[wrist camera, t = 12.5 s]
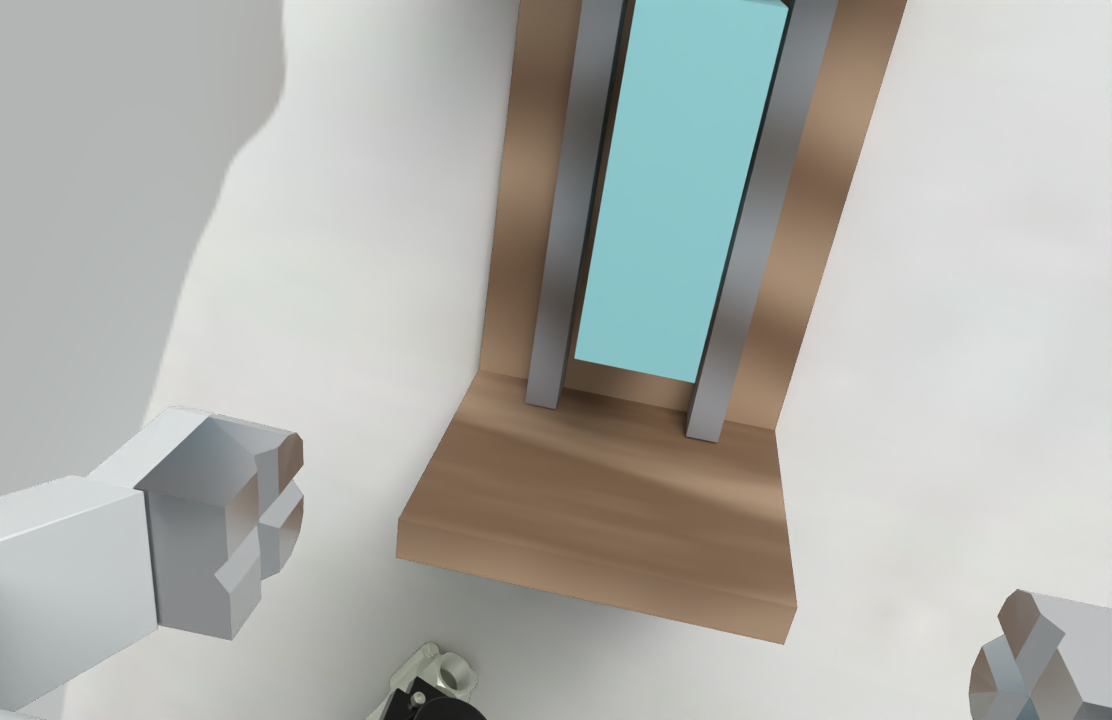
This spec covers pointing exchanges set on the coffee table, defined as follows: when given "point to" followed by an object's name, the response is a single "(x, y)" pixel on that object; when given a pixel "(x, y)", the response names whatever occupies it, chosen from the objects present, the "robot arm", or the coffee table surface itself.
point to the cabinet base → (630, 396)
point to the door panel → (675, 179)
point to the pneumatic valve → (430, 689)
